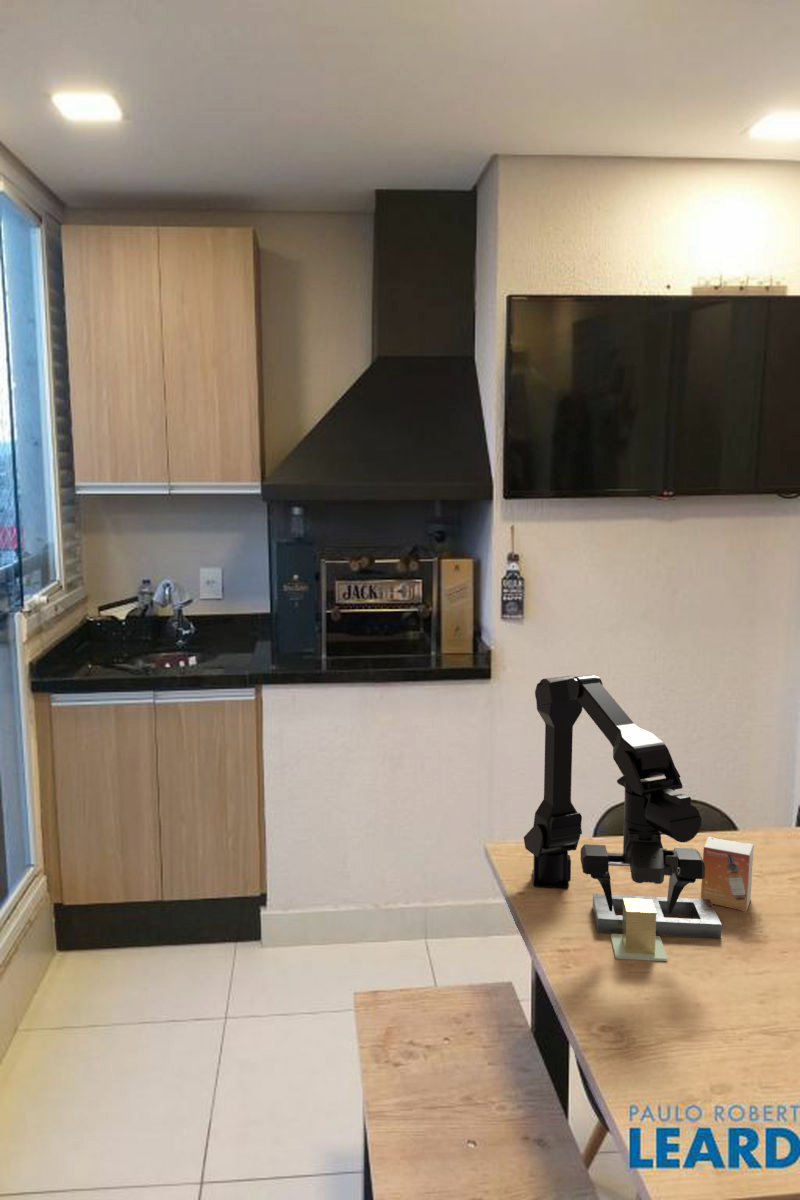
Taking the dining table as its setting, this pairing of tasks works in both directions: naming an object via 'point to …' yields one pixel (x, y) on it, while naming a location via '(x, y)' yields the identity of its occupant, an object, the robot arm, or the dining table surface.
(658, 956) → the mat
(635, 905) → the block
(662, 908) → the grey flat rectangular frame
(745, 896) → the small box
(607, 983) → the dining table surface
